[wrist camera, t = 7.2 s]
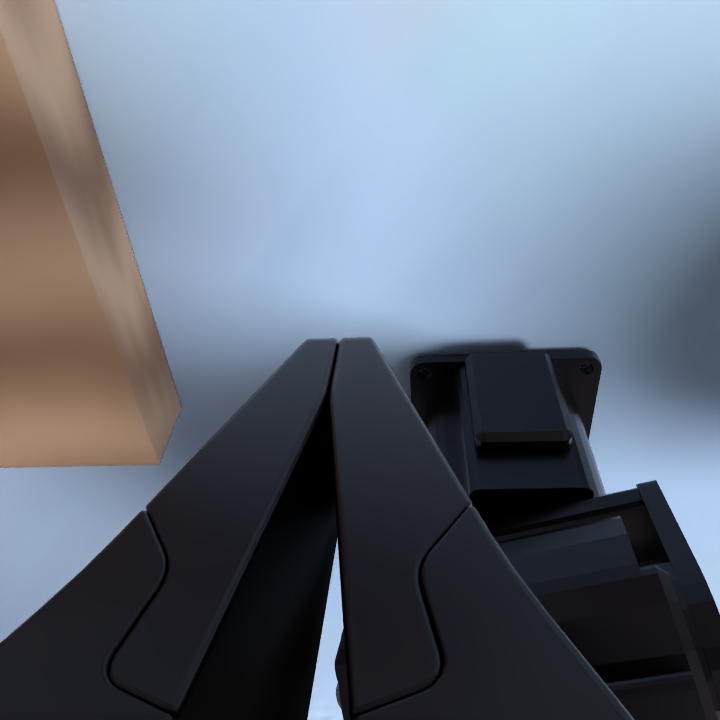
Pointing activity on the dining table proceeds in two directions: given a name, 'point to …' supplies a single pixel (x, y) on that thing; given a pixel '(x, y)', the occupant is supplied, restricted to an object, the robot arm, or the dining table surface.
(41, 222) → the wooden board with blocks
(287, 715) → the robot arm
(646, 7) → the dining table surface
